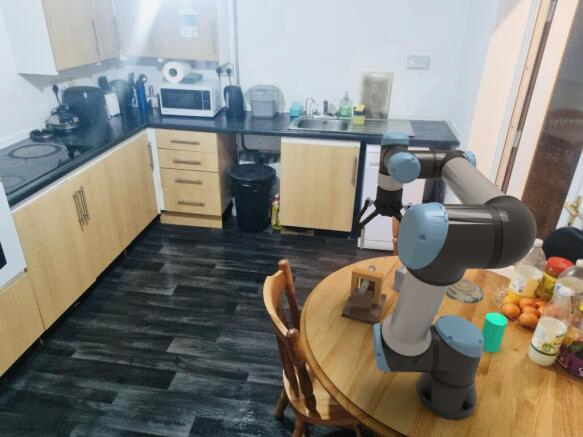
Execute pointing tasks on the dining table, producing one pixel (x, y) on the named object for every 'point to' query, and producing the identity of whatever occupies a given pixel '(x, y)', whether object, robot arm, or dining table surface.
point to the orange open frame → (367, 275)
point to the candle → (493, 331)
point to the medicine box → (399, 278)
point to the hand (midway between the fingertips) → (383, 250)
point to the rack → (364, 303)
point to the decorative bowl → (465, 292)
